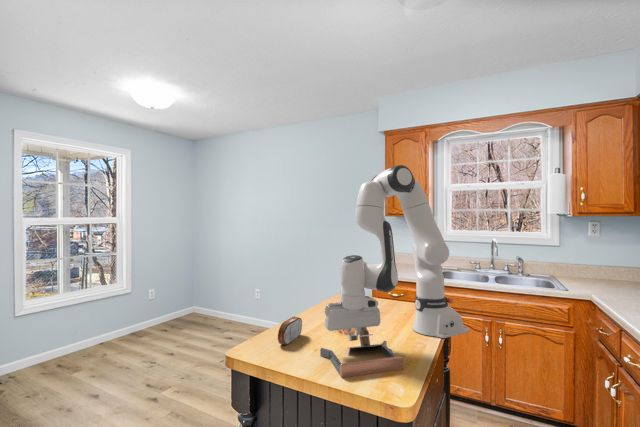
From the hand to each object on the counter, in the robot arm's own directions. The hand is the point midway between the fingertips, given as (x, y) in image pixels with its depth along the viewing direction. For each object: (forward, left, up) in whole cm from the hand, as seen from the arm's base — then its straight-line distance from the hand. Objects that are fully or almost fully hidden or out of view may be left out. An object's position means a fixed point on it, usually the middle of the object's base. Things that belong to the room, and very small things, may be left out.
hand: (353, 340), depth 116 cm
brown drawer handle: (0, +10, -4) cm, 11 cm away
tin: (+20, -15, -4) cm, 25 cm away
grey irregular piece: (-5, 0, -3) cm, 6 cm away
